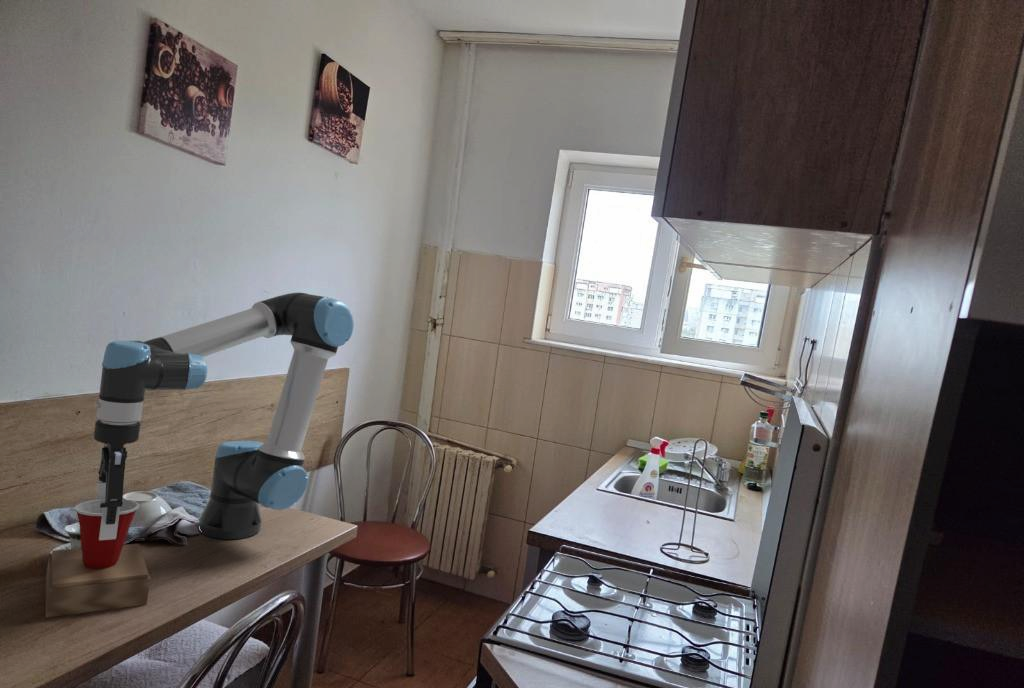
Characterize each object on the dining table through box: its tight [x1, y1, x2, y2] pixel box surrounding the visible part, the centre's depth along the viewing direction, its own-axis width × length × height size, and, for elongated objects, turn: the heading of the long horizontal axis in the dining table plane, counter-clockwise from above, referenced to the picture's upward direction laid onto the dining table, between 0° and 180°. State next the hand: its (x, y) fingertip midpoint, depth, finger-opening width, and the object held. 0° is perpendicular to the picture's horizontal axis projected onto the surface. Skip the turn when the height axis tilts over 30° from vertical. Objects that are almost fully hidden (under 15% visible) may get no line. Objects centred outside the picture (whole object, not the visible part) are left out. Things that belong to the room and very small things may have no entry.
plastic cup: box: [74, 498, 140, 569], centre depth 124 cm, size 11×11×12 cm
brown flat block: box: [45, 543, 151, 618], centre depth 125 cm, size 16×16×6 cm
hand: (104, 525), depth 124 cm, fingers open, 13 cm apart
